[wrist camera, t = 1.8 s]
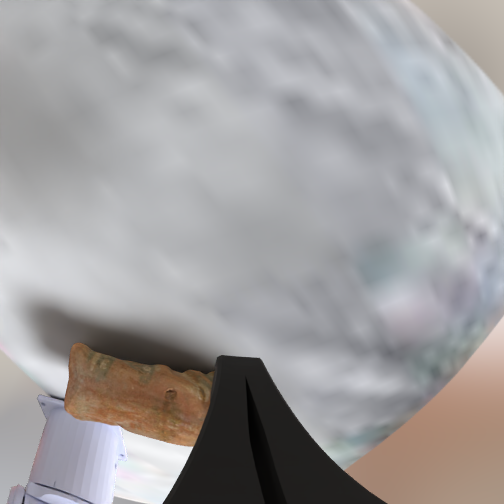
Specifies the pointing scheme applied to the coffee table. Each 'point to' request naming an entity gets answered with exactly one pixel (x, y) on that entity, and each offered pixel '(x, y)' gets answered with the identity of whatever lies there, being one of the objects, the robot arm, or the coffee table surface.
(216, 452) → the robot arm
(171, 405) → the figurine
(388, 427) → the coffee table surface
